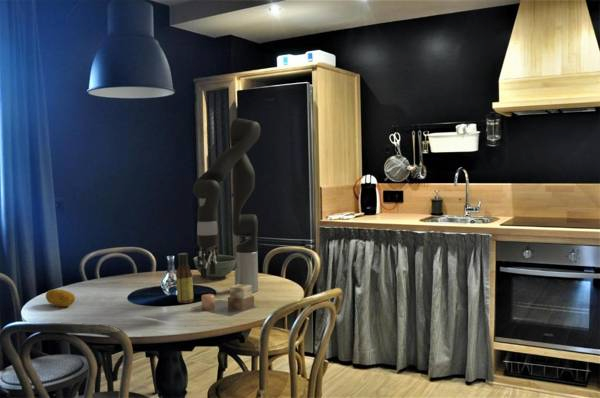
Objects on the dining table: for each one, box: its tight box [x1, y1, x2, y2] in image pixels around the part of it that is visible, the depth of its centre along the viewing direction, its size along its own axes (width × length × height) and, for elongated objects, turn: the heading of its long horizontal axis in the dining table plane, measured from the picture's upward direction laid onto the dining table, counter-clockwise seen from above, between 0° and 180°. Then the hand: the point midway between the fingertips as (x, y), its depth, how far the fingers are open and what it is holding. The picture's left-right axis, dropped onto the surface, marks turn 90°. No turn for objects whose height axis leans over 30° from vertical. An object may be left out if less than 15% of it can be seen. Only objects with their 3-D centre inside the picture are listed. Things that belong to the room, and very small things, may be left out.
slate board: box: [190, 299, 259, 317], centre depth 217 cm, size 20×16×1 cm
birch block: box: [229, 284, 253, 299], centre depth 217 cm, size 6×6×4 cm
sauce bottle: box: [175, 252, 194, 304], centre depth 227 cm, size 6×6×20 cm
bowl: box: [193, 254, 236, 281], centre depth 277 cm, size 21×21×10 cm
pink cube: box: [201, 293, 216, 310], centre depth 216 cm, size 5×5×5 cm
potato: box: [45, 289, 76, 308], centre depth 225 cm, size 8×14×7 cm, turn 53°
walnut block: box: [227, 295, 255, 310], centre depth 218 cm, size 7×7×4 cm
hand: (208, 276), depth 215 cm, fingers open, 8 cm apart
